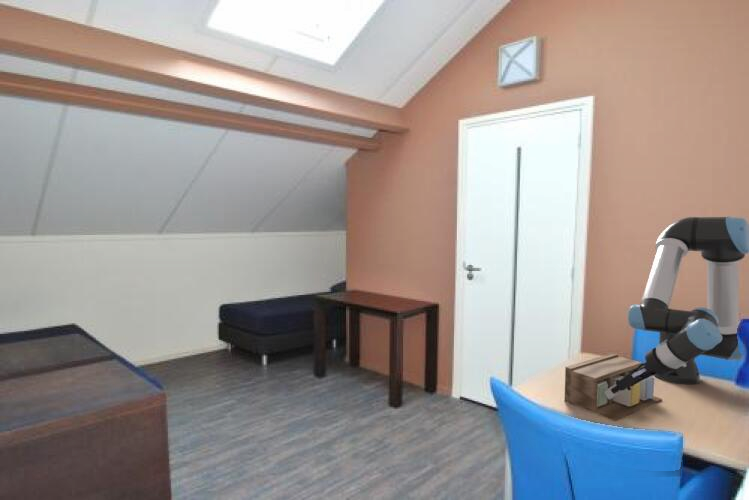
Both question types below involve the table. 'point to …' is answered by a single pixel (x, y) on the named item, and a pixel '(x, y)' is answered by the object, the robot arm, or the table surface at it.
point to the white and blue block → (646, 388)
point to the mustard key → (627, 394)
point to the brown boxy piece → (585, 381)
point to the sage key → (601, 393)
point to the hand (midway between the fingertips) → (607, 395)
